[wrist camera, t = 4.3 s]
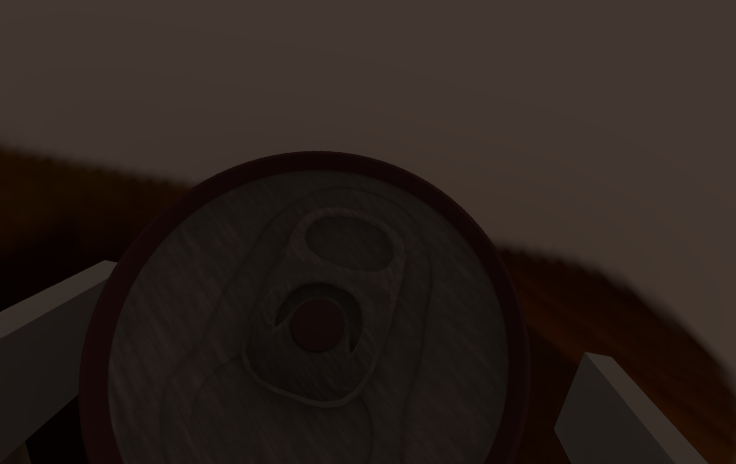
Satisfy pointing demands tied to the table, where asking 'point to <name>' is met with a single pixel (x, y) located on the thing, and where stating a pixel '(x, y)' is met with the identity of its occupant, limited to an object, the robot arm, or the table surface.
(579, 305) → the table surface
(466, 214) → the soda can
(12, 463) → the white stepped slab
